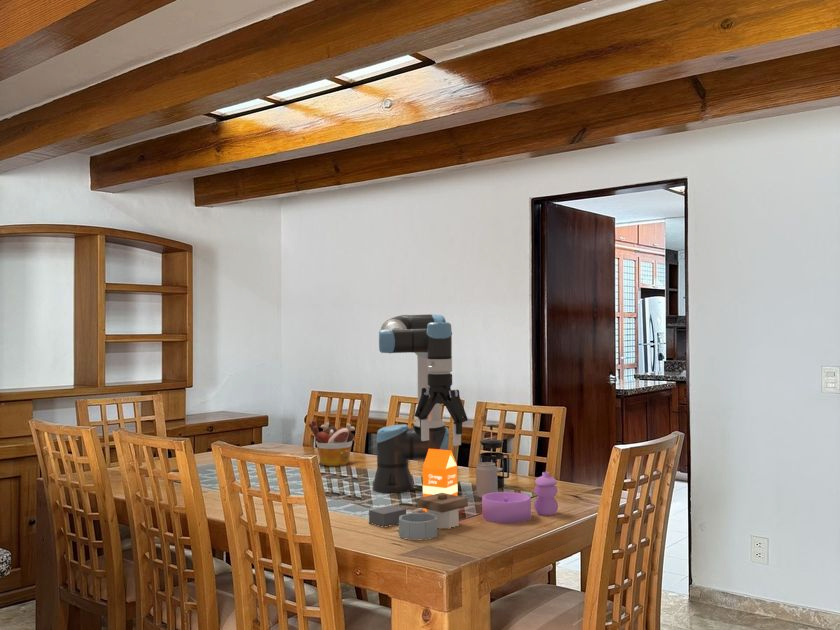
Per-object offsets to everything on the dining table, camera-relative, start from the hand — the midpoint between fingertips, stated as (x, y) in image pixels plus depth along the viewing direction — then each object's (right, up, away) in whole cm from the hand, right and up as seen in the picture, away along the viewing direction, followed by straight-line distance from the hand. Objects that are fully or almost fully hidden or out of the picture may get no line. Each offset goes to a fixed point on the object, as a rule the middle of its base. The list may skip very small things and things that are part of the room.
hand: (440, 442), depth 236 cm
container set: (+26, -25, +9) cm, 37 cm away
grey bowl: (-7, -25, -12) cm, 28 cm away
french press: (+21, -25, +55) cm, 64 cm away
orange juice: (0, -25, +17) cm, 30 cm away
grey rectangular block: (-16, -25, +3) cm, 30 cm away
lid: (0, -19, 0) cm, 19 cm away
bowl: (+1, -25, -1) cm, 25 cm away
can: (+17, -25, +36) cm, 47 cm away
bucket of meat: (-45, -27, +105) cm, 118 cm away
